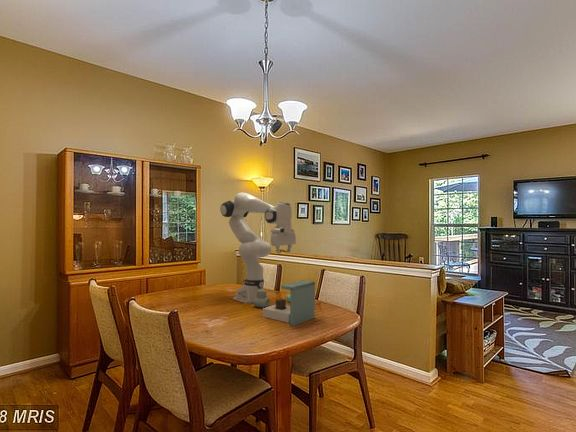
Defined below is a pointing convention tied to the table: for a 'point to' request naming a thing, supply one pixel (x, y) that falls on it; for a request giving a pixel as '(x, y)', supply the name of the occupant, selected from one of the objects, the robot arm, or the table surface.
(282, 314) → the socket block
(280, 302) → the peg
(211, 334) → the table surface
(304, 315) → the teal stepped panel
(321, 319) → the table surface
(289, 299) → the mint green bar
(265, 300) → the air freshener
